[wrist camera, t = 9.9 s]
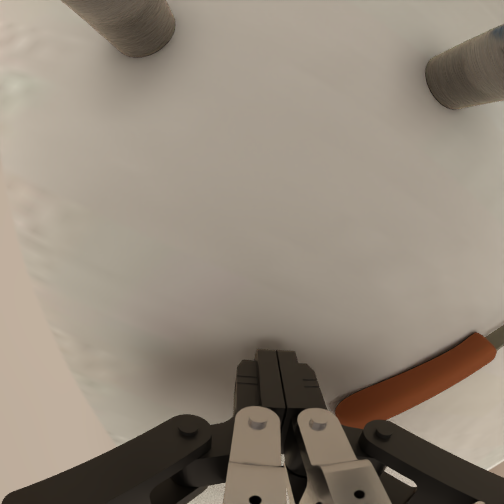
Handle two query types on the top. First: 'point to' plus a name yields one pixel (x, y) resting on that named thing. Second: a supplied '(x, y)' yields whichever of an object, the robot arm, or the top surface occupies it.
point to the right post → (469, 71)
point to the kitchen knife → (419, 382)
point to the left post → (129, 23)
